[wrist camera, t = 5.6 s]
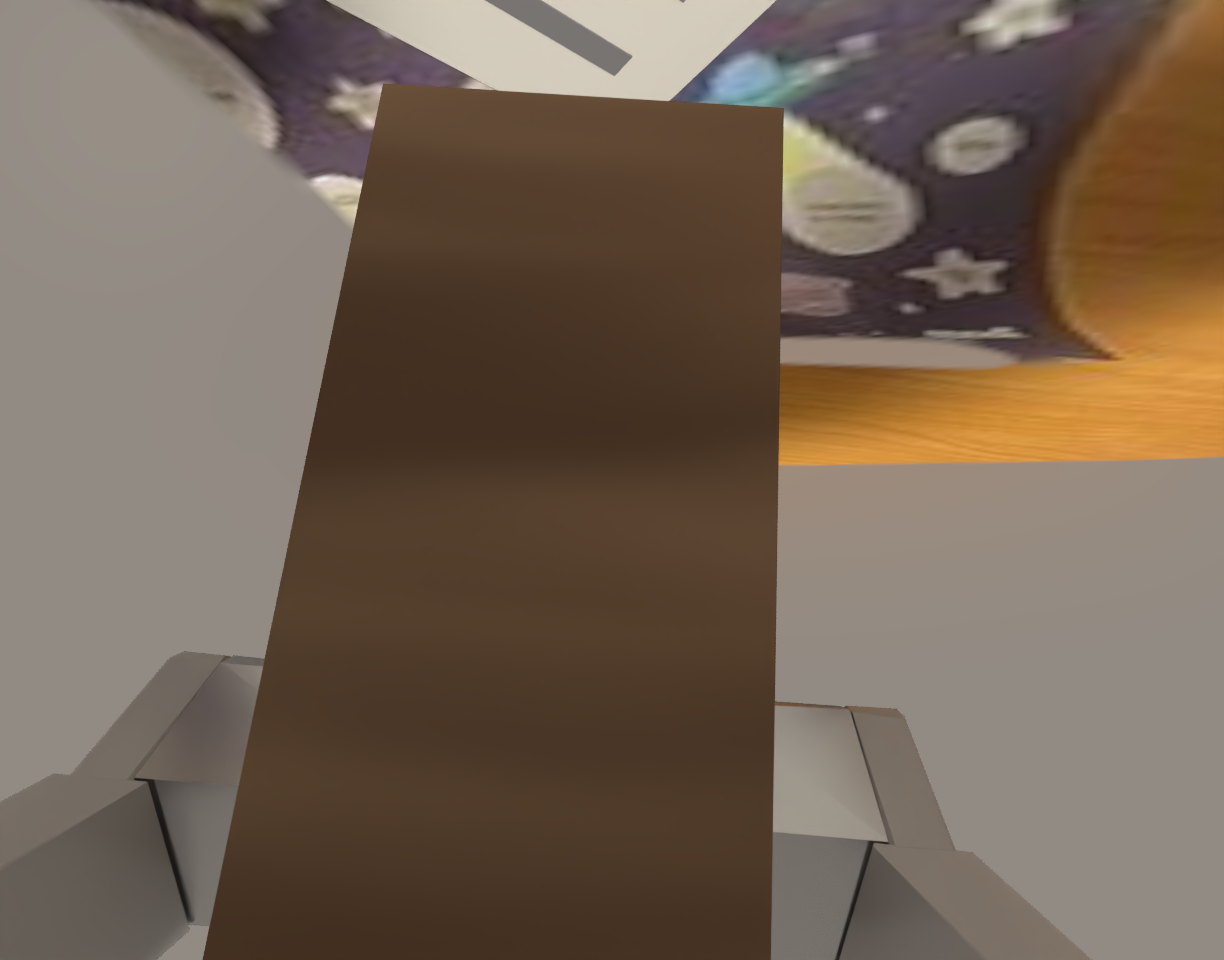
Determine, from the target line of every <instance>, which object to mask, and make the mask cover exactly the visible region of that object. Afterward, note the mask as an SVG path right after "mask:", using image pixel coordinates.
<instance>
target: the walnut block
mask: <svg viewBox="0 0 1224 960" xmlns="http://www.w3.org/2000/svg"><path fill="white" fill-rule="evenodd" d="M783 117H784V108H773V107H757V106H740V105H724V104H708V103H692V102H676V101H659V100H643V99H627V98H611V97H594V96H578V95H562V94H546V93H529V92H513V91H497V90H481V89H464V88H448V87H432V86H416V85H399V84H383V87H382V92H381V97H380V102H379V107H378V112H377V117H376V121H375V126H374V131H373V136H372V141H371V146H370V150H369V155H368V160H367V165H366V170H365V175H364V180H363V184H362V189H361V194H360V199H359V204H358V209H357V214H356V218H355V223H354V228H353V233H352V238H351V243H350V248H349V252H348V258H347V262H346V267H345V272H344V277H343V282H342V286H341V291H340V297H339V301H338V306H337V311H336V316H335V320H334V325H333V330H332V335H331V340H330V345H329V350H328V354H327V359H326V364H325V369H324V374H323V379H322V384H321V388H320V393H319V398H318V403H317V408H316V413H315V417H314V422H313V427H312V433H311V437H310V442H309V447H308V452H307V456H306V461H305V466H304V471H303V476H302V480H301V485H300V490H299V495H298V500H297V505H296V510H295V514H294V519H293V524H292V529H291V534H290V539H289V544H288V548H287V554H286V559H285V563H284V568H283V573H282V578H281V582H280V587H279V592H278V597H277V602H276V607H275V612H274V616H273V621H272V626H271V631H270V636H269V641H268V645H267V650H266V655H265V660H264V665H263V670H262V675H261V679H260V684H259V689H258V694H257V699H256V704H255V708H254V713H253V718H252V723H251V728H250V733H249V738H248V742H247V747H246V752H245V757H244V762H243V767H242V772H241V776H240V781H239V786H238V791H237V796H236V801H235V806H234V810H233V815H232V820H231V825H230V830H229V835H228V840H227V844H226V849H225V854H224V859H223V864H222V869H221V873H220V878H219V883H218V888H217V893H216V898H215V903H214V907H213V912H212V917H211V922H210V927H209V932H208V937H207V941H206V946H205V951H204V956H203V960H771V925H772V858H773V790H774V723H775V655H776V654H775V653H776V587H777V581H776V580H777V518H778V454H779V386H780V319H781V252H782V184H783Z"/></svg>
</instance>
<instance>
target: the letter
mask: <svg viewBox="0 0 1224 960" xmlns="http://www.w3.org/2000/svg"><path fill="white" fill-rule="evenodd" d="M326 1H328V2H330V3H332V4H334V5H336V6H338V7H340V8H341V9H343V10H345V11H347V12H349V13H351V14H353V15H355V16H357V17H359V18H360V19H362V20H364V21H366V22H368V23H370V24H372V25H374V26H376V27H378V28H379V29H381V30H383V31H385V32H387V33H389V34H391V35H393V36H395V37H397V38H398V39H400V40H402V41H404V42H406V43H408V44H410V45H412V46H414V47H416V48H417V49H419V50H421V51H423V52H425V53H427V54H429V55H431V56H433V57H435V58H436V59H438V60H440V61H442V62H444V63H446V64H448V65H450V66H452V67H454V68H456V69H457V70H459V71H461V72H463V73H465V74H467V75H469V76H471V77H473V78H475V79H476V80H478V81H480V82H482V83H484V84H486V85H488V86H490V87H492V88H494V89H495V90H497V91H513V92H529V93H546V94H562V95H578V96H594V97H611V98H627V99H643V100H659V101H670V100H671V99H672V98H673V97H674V96H675V95H676V94H677V93H678V92H679V91H680V90H681V89H682V88H683V87H684V86H686V85H687V84H688V83H689V82H690V81H691V80H692V79H693V78H694V77H695V76H696V75H697V74H698V73H699V72H700V71H702V70H703V69H704V68H705V67H706V66H707V65H708V64H709V63H710V62H711V61H712V60H713V59H714V58H715V57H716V56H717V55H719V54H720V53H721V52H722V51H723V50H724V49H725V48H726V47H727V46H728V45H729V44H730V43H731V42H732V41H733V40H734V39H736V38H737V37H738V36H739V35H740V34H741V33H742V32H743V31H744V30H745V29H746V28H747V27H748V26H749V25H750V24H751V23H753V22H754V21H755V20H756V19H757V18H758V17H759V16H760V15H761V14H762V13H763V12H764V11H765V10H766V9H767V8H769V7H770V6H771V5H772V4H773V3H774V2H775V1H776V0H326Z"/></svg>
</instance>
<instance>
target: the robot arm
mask: <svg viewBox="0 0 1224 960" xmlns="http://www.w3.org/2000/svg"><path fill="white" fill-rule="evenodd" d="M264 660H265V659H262V658H253V657H244V656H232V657H230V656H224V655H214V654H206V653H196V652H187V651H184V652H182V653H179V654H177V655H175V656H173V657H171V658H169V659H168V660H167V661H166V662H165V664H164V665H163V666H162V667H161V668H160V669H159V671H158V672H157V673H156V674H155V675H154V677H153V678H152V679H151V680H150V681H149V682H148V684H147V685H146V686H145V687H144V688H143V690H142V691H141V692H140V693H139V694H138V695H137V697H136V698H135V699H134V700H133V701H132V702H131V704H130V705H129V706H128V707H127V708H126V710H125V711H124V712H123V713H122V714H121V715H120V717H119V718H118V719H117V720H116V721H115V722H114V724H113V725H112V726H111V727H110V728H109V730H108V731H107V732H106V733H105V735H103V737H102V738H101V739H100V740H99V741H98V743H97V744H96V745H95V746H94V747H93V748H92V750H91V751H90V752H89V753H88V754H87V756H86V757H85V758H84V759H83V760H82V761H81V763H80V764H79V765H78V766H77V767H76V768H75V770H74V771H73V772H72V773H71V774H70V775H65V774H64V775H63V774H52V775H50V776H48V777H46V778H44V779H42V780H41V781H39V782H37V783H35V784H33V785H31V786H29V787H27V788H25V789H23V790H22V791H20V792H18V793H16V794H14V795H12V796H10V797H8V798H6V799H4V800H2V801H1V802H0V960H157V959H158V958H159V957H160V956H162V955H163V954H164V953H165V952H166V951H167V950H168V949H169V948H171V947H172V946H173V945H174V944H175V943H176V942H177V941H179V940H180V939H181V938H182V937H183V936H184V935H185V934H186V933H188V932H189V929H190V928H189V925H200V926H210V922H211V917H212V912H213V907H214V903H215V898H216V893H217V888H218V883H219V878H220V873H221V869H222V864H223V859H224V854H225V849H226V844H227V840H228V835H229V830H230V825H231V820H232V815H233V810H234V806H235V801H236V796H237V791H238V786H239V781H240V776H241V772H242V767H243V762H244V757H245V752H246V747H247V742H248V738H249V733H250V728H251V723H252V718H253V713H254V708H255V704H256V699H257V694H258V689H259V684H260V679H261V675H262V670H263V665H264ZM771 960H1092V959H1091V958H1090V957H1088V956H1087V955H1086V954H1085V953H1084V952H1083V951H1082V950H1081V949H1079V948H1078V947H1077V946H1076V945H1075V944H1074V943H1073V942H1072V941H1071V940H1070V939H1068V938H1067V937H1066V936H1065V935H1064V934H1063V933H1062V932H1061V931H1059V929H1057V928H1056V927H1055V926H1054V925H1053V924H1052V923H1051V922H1050V921H1049V920H1047V919H1046V918H1045V917H1044V916H1043V915H1042V914H1041V913H1040V912H1039V911H1037V910H1036V909H1035V908H1034V907H1033V906H1032V905H1031V904H1030V903H1029V902H1027V901H1026V900H1025V899H1024V898H1023V897H1022V896H1021V895H1020V894H1019V893H1018V892H1016V891H1015V890H1014V889H1013V888H1012V887H1011V886H1010V885H1009V884H1008V883H1006V882H1005V881H1004V880H1003V879H1002V878H1001V877H1000V876H999V875H998V874H996V873H995V872H994V871H993V870H992V869H991V868H990V867H989V866H988V865H986V864H985V863H984V862H983V861H982V860H981V859H980V858H979V857H978V856H976V855H975V854H974V853H973V852H965V851H957V850H955V847H954V845H953V842H952V839H951V837H950V834H949V831H948V829H947V826H946V824H945V821H944V818H943V816H942V814H941V811H940V808H939V805H938V803H937V800H936V797H935V795H934V792H933V790H932V787H931V784H930V782H929V779H928V777H927V774H926V771H925V769H924V766H923V764H922V761H921V758H920V756H919V753H918V750H917V748H916V745H915V743H914V740H913V738H912V735H911V732H910V730H909V727H908V724H907V722H906V719H905V717H904V716H903V714H901V713H900V712H899V711H898V710H897V709H891V708H875V707H859V706H845V707H841V706H831V705H818V704H803V703H790V702H777V701H775V723H774V790H773V858H772V925H771Z"/></svg>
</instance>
